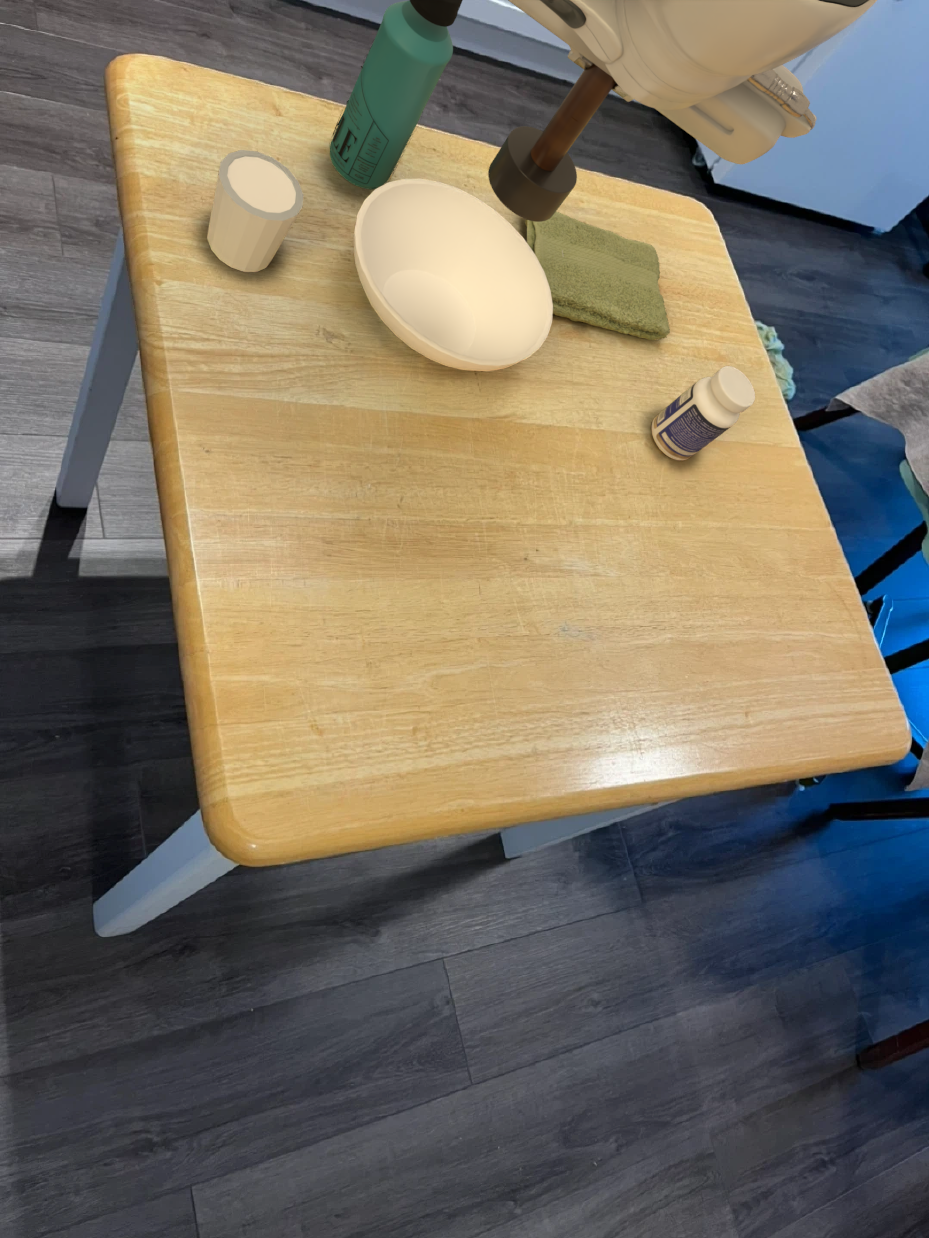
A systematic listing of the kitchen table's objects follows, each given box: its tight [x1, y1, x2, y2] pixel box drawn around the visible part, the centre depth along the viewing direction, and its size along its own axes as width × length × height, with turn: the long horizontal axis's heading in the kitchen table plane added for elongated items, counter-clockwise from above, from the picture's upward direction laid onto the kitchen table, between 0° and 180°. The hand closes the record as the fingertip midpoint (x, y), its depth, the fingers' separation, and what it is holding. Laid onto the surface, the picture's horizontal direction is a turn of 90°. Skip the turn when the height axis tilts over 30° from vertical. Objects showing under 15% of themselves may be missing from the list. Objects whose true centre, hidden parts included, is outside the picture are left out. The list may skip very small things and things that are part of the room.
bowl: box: [353, 178, 554, 372], centre depth 80 cm, size 20×20×7 cm
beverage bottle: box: [328, 0, 463, 190], centre depth 77 cm, size 6×7×20 cm
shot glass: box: [206, 149, 305, 273], centre depth 73 cm, size 7×7×7 cm
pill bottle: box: [651, 365, 756, 461], centre depth 89 cm, size 6×6×10 cm
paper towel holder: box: [487, 63, 616, 222], centre depth 60 cm, size 6×6×18 cm
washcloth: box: [524, 210, 671, 341], centre depth 95 cm, size 13×18×3 cm
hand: (603, 68), depth 59 cm, fingers closed on paper towel holder, 2 cm apart
